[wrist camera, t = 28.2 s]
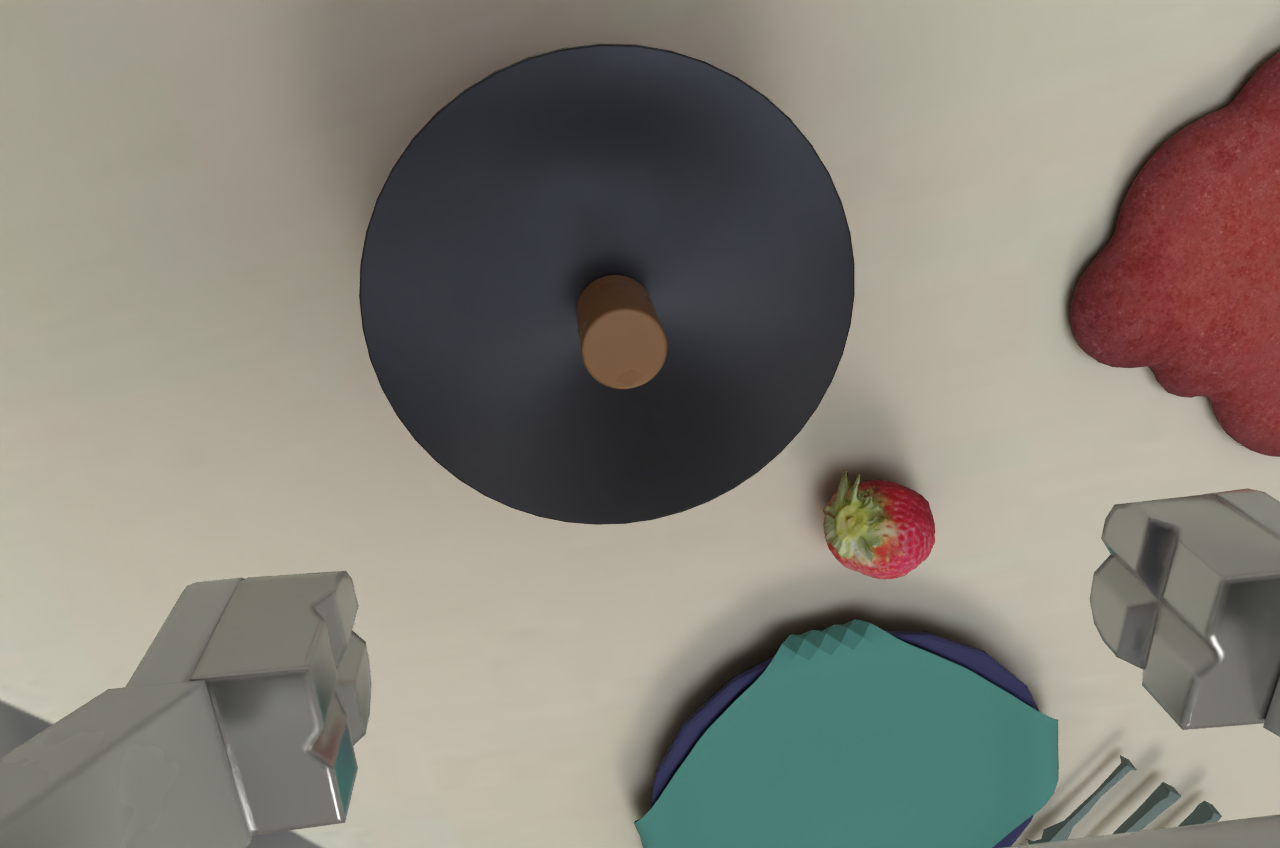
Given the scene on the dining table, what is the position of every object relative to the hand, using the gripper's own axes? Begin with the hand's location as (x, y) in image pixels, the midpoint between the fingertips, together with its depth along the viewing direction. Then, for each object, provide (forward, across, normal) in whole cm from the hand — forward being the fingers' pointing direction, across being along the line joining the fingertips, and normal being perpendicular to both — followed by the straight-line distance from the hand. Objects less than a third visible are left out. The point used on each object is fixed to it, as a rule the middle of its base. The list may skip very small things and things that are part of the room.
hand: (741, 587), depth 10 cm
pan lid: (+20, 0, +3) cm, 20 cm away
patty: (+25, -28, +5) cm, 38 cm away
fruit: (+25, -11, +14) cm, 31 cm away
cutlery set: (+25, -15, +33) cm, 44 cm away
